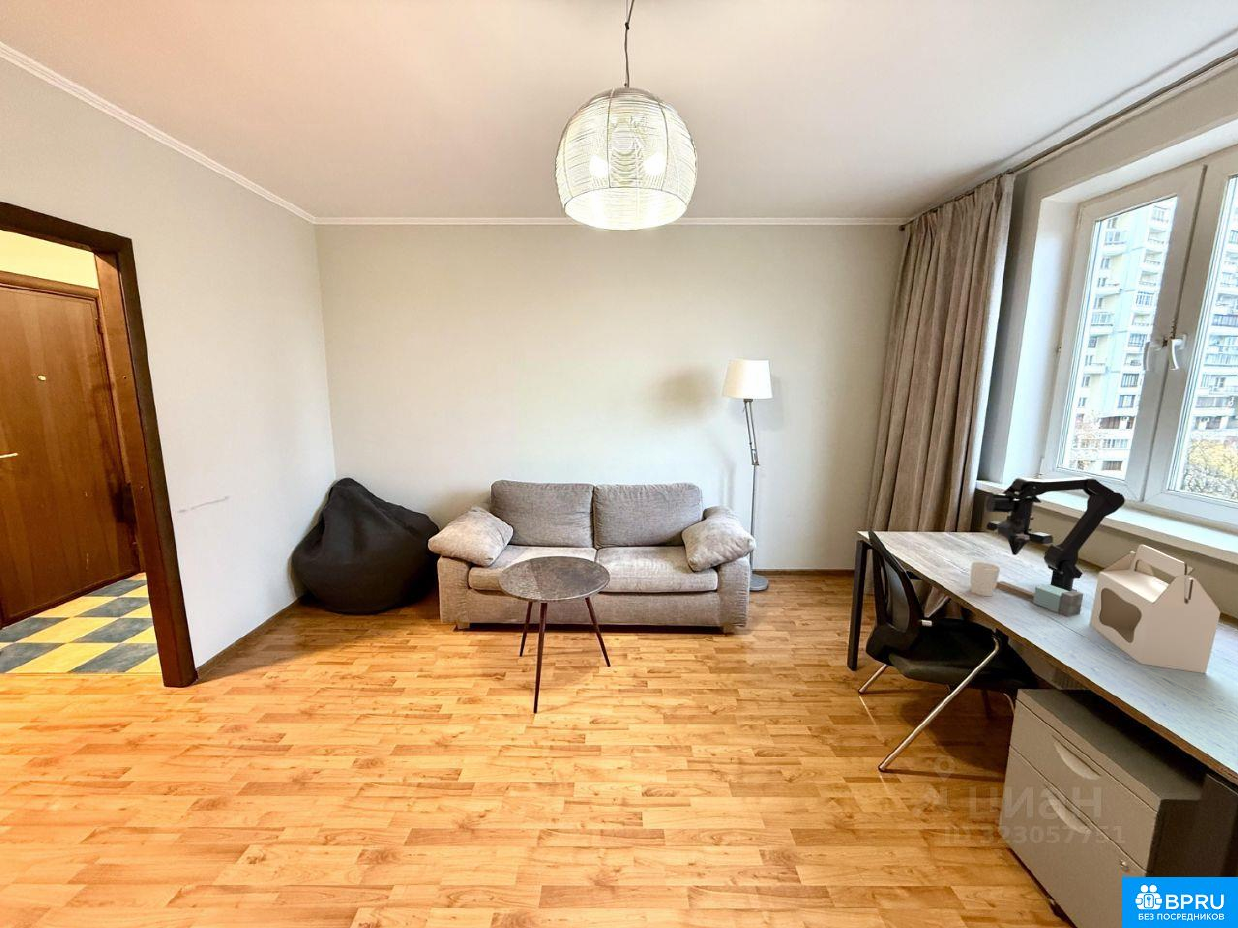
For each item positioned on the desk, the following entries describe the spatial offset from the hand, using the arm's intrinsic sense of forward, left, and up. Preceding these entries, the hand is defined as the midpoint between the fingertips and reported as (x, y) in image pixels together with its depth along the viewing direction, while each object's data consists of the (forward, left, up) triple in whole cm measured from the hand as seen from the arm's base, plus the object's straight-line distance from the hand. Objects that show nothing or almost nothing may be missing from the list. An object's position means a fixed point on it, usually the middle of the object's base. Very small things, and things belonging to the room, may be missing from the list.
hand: (1014, 554), depth 170 cm
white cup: (+16, +1, -12) cm, 20 cm away
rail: (+5, +11, -12) cm, 17 cm away
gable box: (+9, +40, -12) cm, 43 cm away
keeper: (+5, +16, -12) cm, 21 cm away
